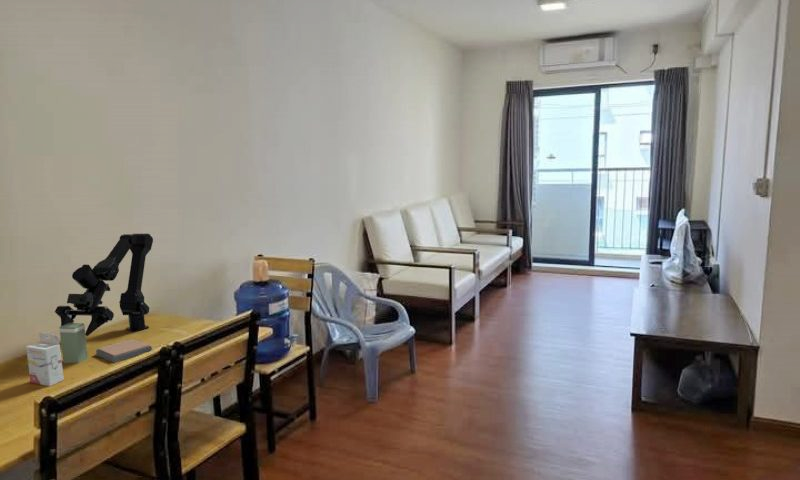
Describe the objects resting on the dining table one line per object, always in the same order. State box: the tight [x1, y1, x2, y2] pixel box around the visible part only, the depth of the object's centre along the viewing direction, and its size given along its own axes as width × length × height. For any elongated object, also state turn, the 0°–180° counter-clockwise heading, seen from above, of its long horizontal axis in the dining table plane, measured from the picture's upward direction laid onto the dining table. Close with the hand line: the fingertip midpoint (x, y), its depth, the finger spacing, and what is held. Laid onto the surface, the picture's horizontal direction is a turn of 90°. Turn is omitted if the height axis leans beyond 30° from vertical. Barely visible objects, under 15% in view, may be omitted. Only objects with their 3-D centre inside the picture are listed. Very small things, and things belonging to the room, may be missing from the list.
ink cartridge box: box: [25, 332, 65, 387], centre depth 160 cm, size 9×5×15 cm, turn 71°
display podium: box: [95, 338, 153, 364], centre depth 185 cm, size 13×13×2 cm
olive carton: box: [59, 322, 89, 364], centre depth 178 cm, size 6×5×12 cm
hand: (73, 335), depth 178 cm, fingers open, 9 cm apart
